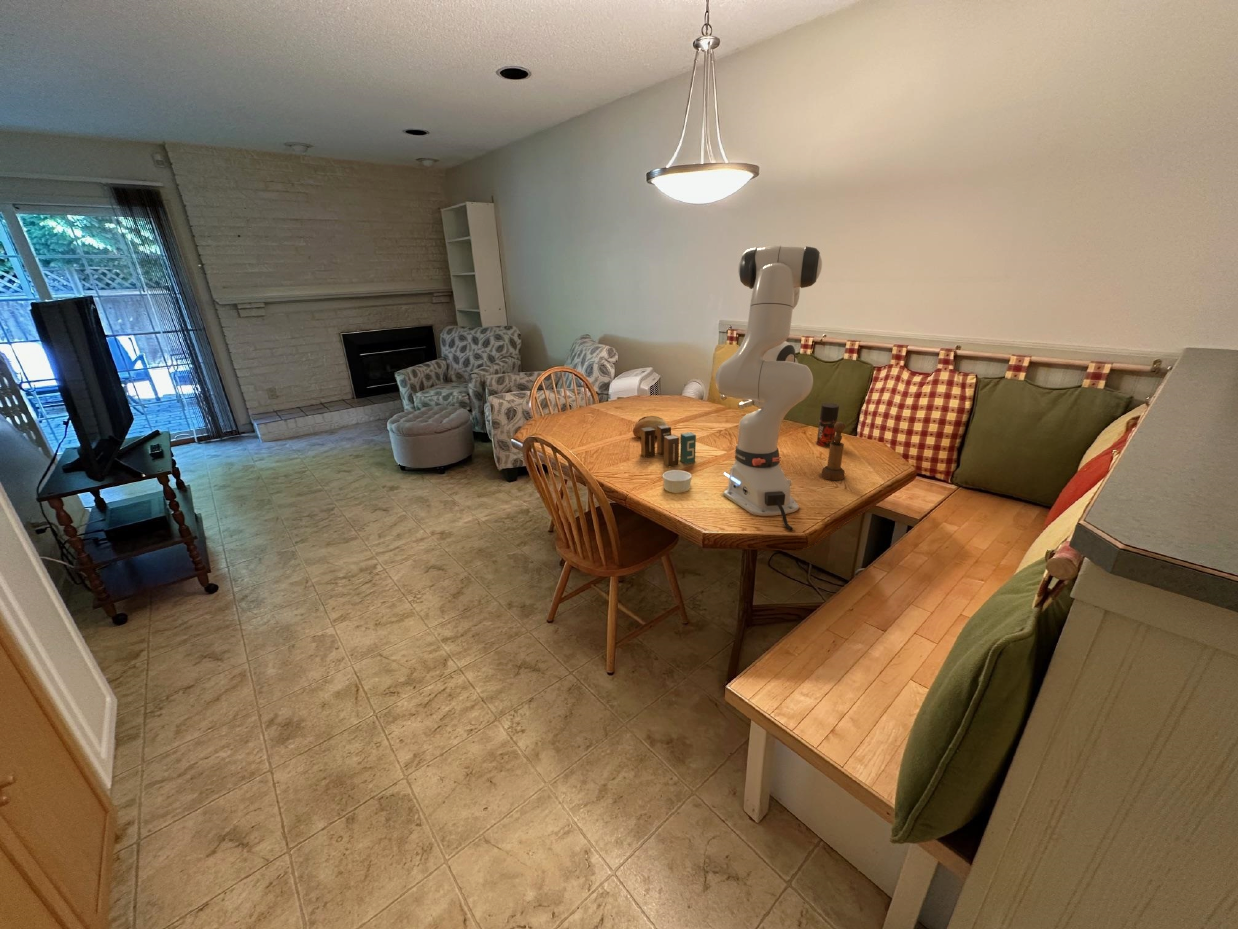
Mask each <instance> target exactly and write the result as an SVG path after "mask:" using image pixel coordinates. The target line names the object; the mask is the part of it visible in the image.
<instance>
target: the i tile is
mask: <svg viewBox="0 0 1238 929" xmlns="http://www.w3.org/2000/svg"><path fill="white" fill-rule="evenodd" d="M679 461H680V437H679V436H677V435H676V434H671V435H670V436H664V454H663V464H664V465H665V466H666V467H668V468H670V467H675V466H679V465H680V462H679Z"/></svg>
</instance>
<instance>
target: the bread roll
mask: <svg viewBox="0 0 1238 929" xmlns="http://www.w3.org/2000/svg"><path fill="white" fill-rule="evenodd" d="M661 425H668V424H667V422H666V420H664V419H663V418H662V417H660V416H656V415H649V416H643V417H641V418H640V419H638V421H636V423H635V425H634V427H633V430H632V435H633V436H635V437H638V438H639V437H640V438H641V428H648V427H651V428H653V429H655V437H657V426H661Z"/></svg>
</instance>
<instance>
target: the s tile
mask: <svg viewBox="0 0 1238 929" xmlns="http://www.w3.org/2000/svg"><path fill="white" fill-rule="evenodd" d="M696 441H697V435H696V434H695V433H693V432H691V431H689V432H683V433H680V449H679V461H680V462H681V463H683V464H685V465H687V464H692V463H696V445H697V443H696Z"/></svg>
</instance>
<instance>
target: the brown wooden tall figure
mask: <svg viewBox="0 0 1238 929" xmlns="http://www.w3.org/2000/svg"><path fill="white" fill-rule="evenodd" d="M834 429H835V431H836V432H835V436H834V442H831V443H830V447H829V450H828V457H827V465H826V466H824V467H822V468H821V474H820V475H821V477H822V478H823V479H825V480H829V481H841V480H844V479H845V474H846V473H845V469H843V468H842V462H843V461H842V460H843V454H844V447H845V444H844V443H843V442H841V441H842V439H843V436H842V433H843V432H844V430H845V429H846V424H845V423H844V422H842V421H837V423H835V425H834Z"/></svg>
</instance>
